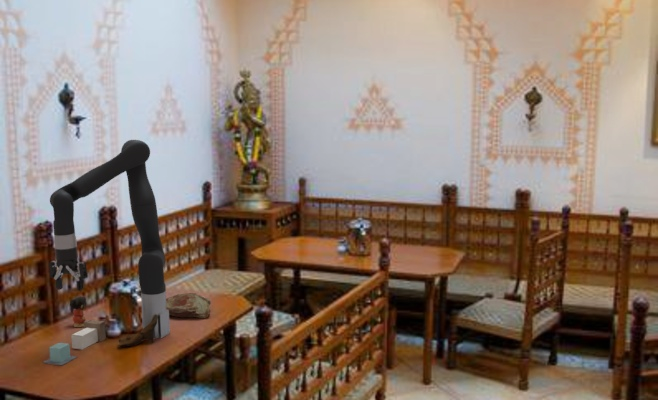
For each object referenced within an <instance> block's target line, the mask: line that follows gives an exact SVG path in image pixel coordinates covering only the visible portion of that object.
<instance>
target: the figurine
mask: <svg viewBox="0 0 658 400" xmlns="http://www.w3.org/2000/svg"><path fill="white" fill-rule="evenodd" d="M86 300H87V299H86V297H84V296H80V295H78V296H74V297H73V298H72V299H70V303H69V306H70V307H71V309H72V310H74V311H73V317H72V321H73V327H74V328H75V327H76V328H84V322H85V321H86V318H85V316H84V312H83V310H84V309H85V304H86Z"/></svg>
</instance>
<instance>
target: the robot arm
mask: <svg viewBox="0 0 658 400" xmlns="http://www.w3.org/2000/svg"><path fill="white" fill-rule="evenodd" d="M150 156H151V149H150V147H149V145H148V144H147V143H146V142H145V141H142V140H140V139H130V140H127V141H126V142H124V143H123V145H122V147H121V151H120V153H118V154H117V155H116V156H114V157H113V158H111V159H110V160H108V161H106V162H104V163H103V164H100V165H98V166H96V167H94V168H92V169H90V170H89V171H87V172H86V173H84V174H82V175H81V176H79V177H78V178H76V179H75V180H73V181H72V182H70V183H67V184H66V185H64V186H62V187H60V188H57V189H56V190H55V191H53V193H51V195H50V197H49V203H50V205H51V207H52V209H53V216H54V217H53V218H54V220H53V225H52V226H53V245H54V254H55V260H52V261H50V262H49V263H48V266H49V277H50V279H54V280H55V287H56V289H57V290H59V291H60V290H62V289H63V278H62V277H63V275H66V274H67V275H71V276H72V277H74V278H75V280H76V281H75V282H76V290H77V291H78V292H80V291H82V290H83V289H84V279H87V278H88V277H89V275H88V270H87V269H88V268H87V262H86V261H83V262H79V261H78V257H79V254H78V253H79V252H78V245H77V244H78V243H77V237H76V236H77V235H76V231H75V230H76V229H75V222H74V216H75V215H74V213H75V208H74V207H75V205H74V203H75V202H76V201H78V200H79V199H81V198H82V199H83V198H85V197H87V196H89V195H91V194H93V192H96V190H98V189H100V188H101V187H103V186H104V185H105V184H108V183H109V182H110V181H112V180H114V179H115V178H116V177H118V176H120V175H121V174H123V173H126V176H127V184H128V193H129V203H130V211H131V216H132V220H133V223H134V225H135V227H136V230H137V232H138V235H139V238H140V245H141V256H140V257H139V260H138V264H137V265H138V266H137V267H138V270H137V272H138V280H139V281H138V283H139V287H140V298H141V299H140V300H141V318H142V319H141V321H142V330H143V329H144V328H145V327H146V326H147V325H148V324H150V323H151V321H152V319H153V317H154V316H155V315H157V316H158V319H157V324H156V326H155V328H154V330H153V338H154V339H162V338H164V337H166V336H167V335H169V334H171V331H170V329H171V328H170V324H171V323H170V315H169V310H168V309H167V308H166V299H167V292H166V291H167V289H166V287H167V286H166V283H165V274H164V273H165V272H164V270H165V269H164V267H165V265H166V255H165V251H164V249H163V244H162V241H161V240H162V239H161V236H160V227H159V225H160V224H159V217H158V210H157V209H158V208H157V202H156V197H155V193H154V191H153V188H152V185H151V183H150V181H149V177H148V174H147V173H148V172H147V166H146V163H147V162H148V160H149V158H150ZM57 268H58V269H57Z"/></svg>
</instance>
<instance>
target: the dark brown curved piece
mask: <svg viewBox="0 0 658 400" xmlns="http://www.w3.org/2000/svg"><path fill="white" fill-rule="evenodd" d="M157 319H158V316H157V315H155V316H154V317H153V319H152V321H151V323H150V324H148V325H147V326H146V327H145V328H144V329H143V328H142V330H140V331H139V332H137V333H134V334H129V333H127V334H125V335H124V336H123V337H121V338H119V339H118V343H117V347H120V348H126V347H132V346H137V345H138V344H141V343H142V342H143V341H149V342H151V343H152V344H154V341H155V338H153V330H154V328H155V326H156V324H157Z"/></svg>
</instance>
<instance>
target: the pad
mask: <svg viewBox="0 0 658 400" xmlns="http://www.w3.org/2000/svg"><path fill="white" fill-rule="evenodd" d="M77 358H78V356H76V355H70V358H69V359H67V360H65V361H63V362H61V363H60V362H53V361H50V358H48V359H46V360H44V361H43V362H42V363H43V364H49V365H55V366H64V365H66V364H68V363H70V362H72V361H73V360H75V359H77Z"/></svg>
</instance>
